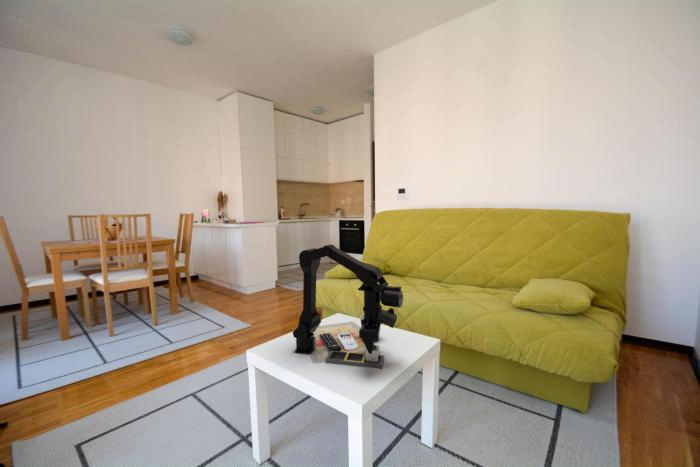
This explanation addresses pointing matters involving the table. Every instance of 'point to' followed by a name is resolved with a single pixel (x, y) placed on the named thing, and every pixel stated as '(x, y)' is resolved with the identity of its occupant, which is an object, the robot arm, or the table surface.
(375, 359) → the block
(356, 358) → the rail
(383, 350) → the table surface
